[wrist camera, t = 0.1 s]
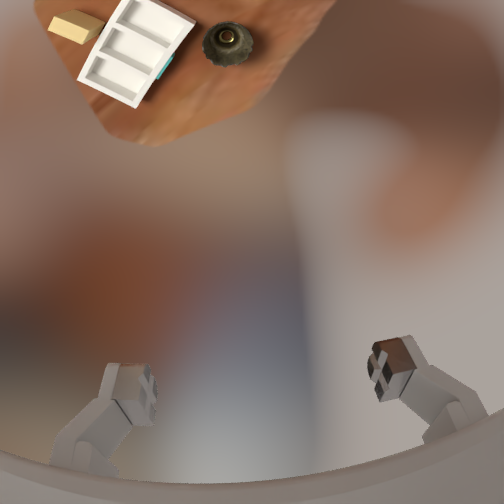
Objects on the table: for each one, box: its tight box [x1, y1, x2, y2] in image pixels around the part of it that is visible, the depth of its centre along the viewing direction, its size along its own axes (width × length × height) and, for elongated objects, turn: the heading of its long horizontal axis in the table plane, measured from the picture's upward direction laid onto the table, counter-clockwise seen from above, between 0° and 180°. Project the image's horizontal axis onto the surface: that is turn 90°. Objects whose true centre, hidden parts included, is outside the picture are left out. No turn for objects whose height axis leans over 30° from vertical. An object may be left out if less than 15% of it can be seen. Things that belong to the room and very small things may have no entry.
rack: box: [77, 0, 196, 109], centre depth 41 cm, size 18×13×4 cm
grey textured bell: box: [202, 21, 253, 67], centre depth 41 cm, size 8×7×8 cm
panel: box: [48, 9, 106, 44], centre depth 34 cm, size 2×7×8 cm, turn 51°
